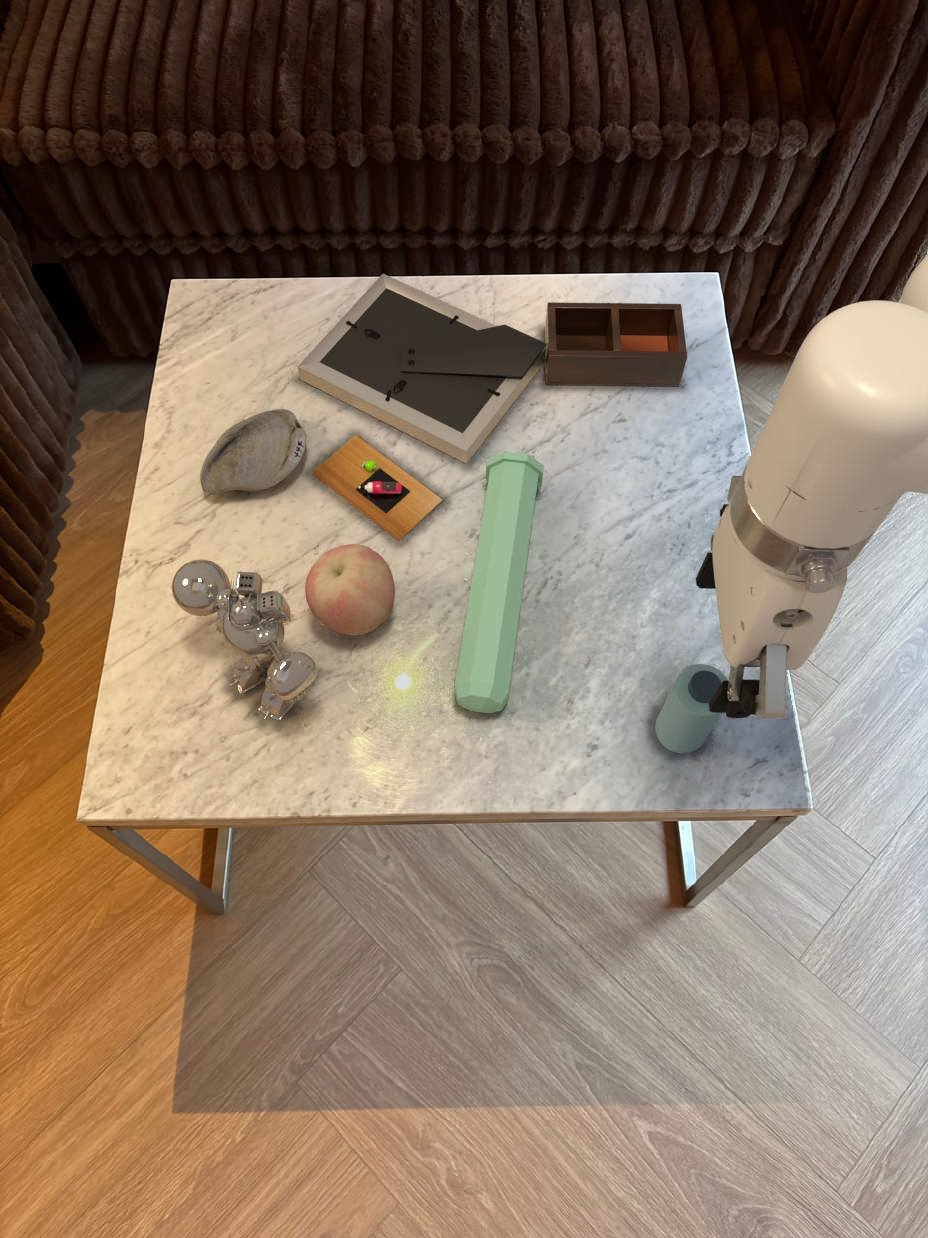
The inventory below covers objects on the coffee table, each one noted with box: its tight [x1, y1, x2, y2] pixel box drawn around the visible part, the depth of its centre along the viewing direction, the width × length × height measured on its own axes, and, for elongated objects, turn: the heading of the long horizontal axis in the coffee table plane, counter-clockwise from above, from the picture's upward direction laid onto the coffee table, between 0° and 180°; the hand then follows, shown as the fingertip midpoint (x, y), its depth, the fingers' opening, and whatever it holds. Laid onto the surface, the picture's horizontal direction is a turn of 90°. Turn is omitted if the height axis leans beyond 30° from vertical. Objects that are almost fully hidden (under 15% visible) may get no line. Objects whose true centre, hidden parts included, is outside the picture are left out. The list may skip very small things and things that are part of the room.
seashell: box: [199, 408, 308, 496], centre depth 93 cm, size 12×8×5 cm
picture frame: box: [297, 273, 547, 465], centre depth 99 cm, size 16×3×21 cm
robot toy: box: [171, 559, 318, 721], centre depth 78 cm, size 15×6×15 cm, turn 46°
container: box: [454, 450, 545, 714], centre depth 86 cm, size 6×6×25 cm
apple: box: [304, 543, 396, 636], centre depth 84 cm, size 8×8×8 cm
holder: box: [544, 301, 688, 388], centre depth 99 cm, size 7×14×4 cm, turn 89°
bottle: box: [654, 663, 729, 755], centre depth 77 cm, size 4×4×10 cm
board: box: [311, 434, 444, 542], centre depth 93 cm, size 6×12×2 cm, turn 48°
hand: (723, 644), depth 67 cm, fingers open, 9 cm apart
